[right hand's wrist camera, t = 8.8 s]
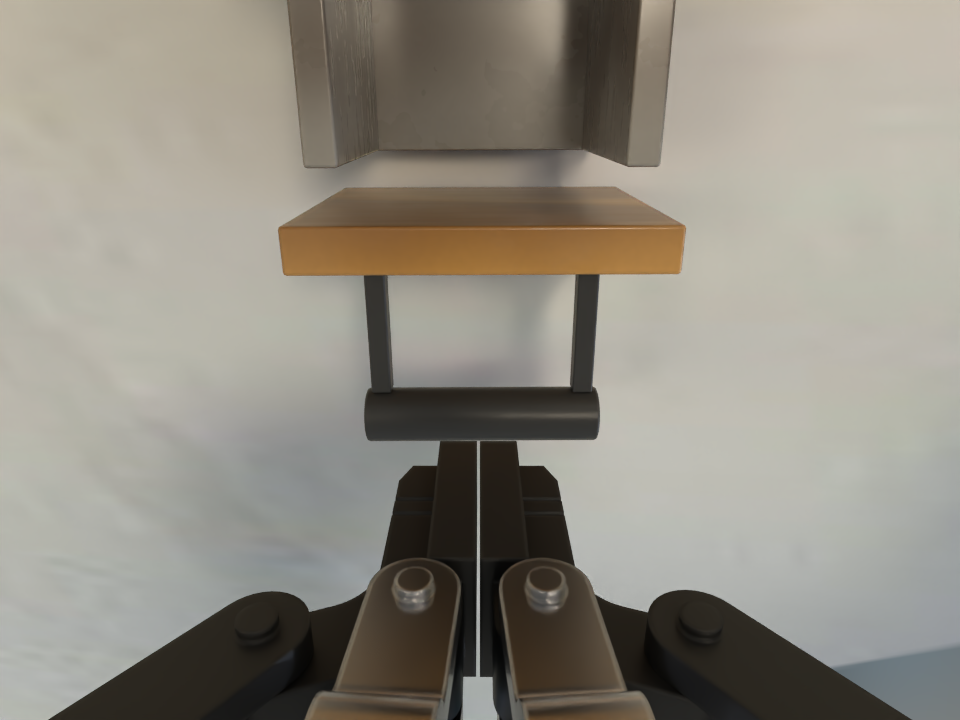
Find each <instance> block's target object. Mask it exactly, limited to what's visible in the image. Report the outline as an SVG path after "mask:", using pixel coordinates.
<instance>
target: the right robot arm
mask: <svg viewBox="0 0 960 720" xmlns="http://www.w3.org/2000/svg"><path fill="white" fill-rule="evenodd" d="M476 597H477V441H440V448H439V457H438V465H437V466H413V467H412V468H411V469H410V470H409V471H408V472H407V473H406V474H405V475H404V476H403V477H402V478H401V479H400V480H399V485H398V489H397V494H396V501H395V503H394V508H393V515H392V517H391V522H390V527H389V531H388V536H387V541H386V546H385V550H384V555H383V560H382V564H381V569H380V571H378V572H377V573H376V574H375V575H374V577H373V578H372V579H371V581H370V583H369V585H368V588H367V590H366V591H364V592H363V593H362V594H360V595H359V596H357V597H355V598H353V599H352V600H349V601H347V602H345V603H342V604H339V605H336V606H332V607H328V608H324V609H320V610H316V611H312V612H309V610H308V608H307V606H306V605H305V603H304V602H303V601H302V600H301V599H299V598H298V597H296V596H294V595H291V594H288V593H284V592H273V591H271V592H261V593H256V594H252V595H249V596H246V597H244V598H241V599H239V600H237V601H235V602H233V603H231V604H230V605H228V606H226V607H225V608H223V609H222V610H220V611H219V612H217V613H215V614H214V615H212V616H211V617H209V618H208V619H206V620H204V621H203V622H201V623H200V624H198V625H197V626H195V627H193V628H192V629H190V630H189V631H187V632H185V633H184V634H182V635H181V636H179V637H178V638H176V639H174V640H173V641H171V642H170V643H168V644H167V645H165V646H163V647H162V648H160V649H159V650H157V651H156V652H154V653H152V654H151V655H149V656H148V657H146V658H145V659H143V660H141V661H140V662H138V663H137V664H135V665H134V666H132V667H130V668H129V669H127V670H126V671H124V672H123V673H121V674H119V675H118V676H116V677H115V678H113V679H112V680H110V681H108V682H107V683H105V684H104V685H102V686H101V687H99V688H97V689H96V690H94V691H93V692H91V693H89V694H88V695H86V696H85V697H83V698H82V699H80V700H78V701H77V702H75V703H74V704H72V705H71V706H69V707H67V708H66V709H64V710H63V711H61V712H60V713H58V714H56V715H55V716H53V717H52V718H50V719H49V720H463V677H476ZM480 677H493V701H494V706H495V709H496V711H497V720H911V719H910V718H908V717H907V716H905V715H904V714H902V713H900V712H899V711H897V710H896V709H894V708H892V707H891V706H889V705H888V704H886V703H885V702H883V701H881V700H880V699H878V698H877V697H875V696H874V695H872V694H870V693H869V692H867V691H866V690H864V689H863V688H861V687H859V686H858V685H856V684H855V683H853V682H852V681H850V680H848V679H847V678H845V677H844V676H842V675H841V674H839V673H837V672H836V671H834V670H833V669H831V668H830V667H828V666H826V665H825V664H823V663H822V662H820V661H819V660H817V659H815V658H814V657H812V656H811V655H809V654H808V653H806V652H804V651H803V650H801V649H800V648H798V647H797V646H795V645H793V644H792V643H790V642H789V641H787V640H786V639H784V638H782V637H781V636H779V635H778V634H776V633H774V632H773V631H771V630H770V629H768V628H767V627H765V626H763V625H762V624H760V623H759V622H757V621H756V620H754V619H752V618H751V617H749V616H748V615H746V614H745V613H743V612H741V611H740V610H738V609H737V608H735V607H734V606H732V605H730V604H729V603H727V602H725V601H724V600H722V599H720V598H718V597H715V596H713V595H710V594H707V593H704V592H699V591H692V590H677V591H671V592H668V593H665V594H663V595H661V596H659V597H658V598H657V599H656V600H654V601H653V603H652V604H651V606H650V608H649V611H648V613H647V612H643V611H639V610H635V609H631V608H627V607H623V606H619V605H616V604H613V603H610V602H608V601H606V600H604V599H602V598H600V597H598V596H597V595H595V594H594V591H593V588H592V585H591V583H590V581H589V579H588V578H587V577H586V575H585V574H584V573H583V572H582V571H580V570H579V569H578V568H576V567H575V565H574V560H573V555H572V550H571V545H570V540H569V535H568V530H567V526H566V521H565V516H564V511H563V506H562V501H561V496H560V491H559V486H558V482H557V480H556V479H555V478H554V477H553V476H552V475H551V473H550V472H549V471H548V470H547V469H546V468H545V467H544V466H519V460H518V451H517V442H516V441H480Z"/></svg>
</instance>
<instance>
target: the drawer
mask: <svg viewBox="0 0 960 720" xmlns="http://www.w3.org/2000/svg"><path fill="white" fill-rule="evenodd" d="M675 3H676V0H287V4H288V14H289V24H290V34H291V44H292V54H293V64H294V74H295V85H296V95H297V105H298V115H299V125H300V135H301V145H302V155H303V165H304V167H306V168H336V167H339V166H341V165H343V164H346V163H348V162H351V161H353V160H356V159H358V158H361V157H363V156H365V155H368V154H370V153H373V152H375V151H385V150H585V151H588V152H591V153H593V154H596V155H598V156H601V157H604V158H606V159H609V160H612V161H614V162H617V163H620V164H622V165H625V166H628V167H658V166H659V165H660V161H661V150H662V140H663V129H664V119H665V108H666V98H667V87H668V77H669V66H670V56H671V45H672V35H673V24H674V14H675ZM685 232H686V227H685V225H683V224H681V223H679V222H678V221H676V220H674V219H672V218H670V217H669V216H667V215H665V214H663V213H661V212H660V211H658V210H656V209H654V208H652V207H651V206H649V205H647V204H645V203H643V202H642V201H640V200H638V199H636V198H634V197H633V196H631V195H629V194H627V193H625V192H624V191H622V190H620V189H618V188H616V187H446V188H345V189H343V190H341V191H339V192H338V193H336V194H334V195H333V196H331V197H329V198H328V199H326V200H324V201H323V202H321V203H319V204H318V205H316V206H314V207H312V208H311V209H309V210H307V211H306V212H304V213H302V214H301V215H299V216H297V217H296V218H294V219H292V220H291V221H289V222H287V223H285V224H284V225H282V226H280V227H279V229H278V234H279V242H280V251H281V259H282V268H283V273H284V275H286V276H347V275H364V286H365V300H366V314H367V328H368V342H369V356H370V370H371V384H372V388H369V389H368V391H367V394H366V398H365V409H364V423H365V432H366V436H367V439H368V440H370V441H460V440H594V439H596V438H597V435H598V432H599V424H600V407H599V398H598V394H597V391H596V388H594V387H592V382H593V367H594V351H595V336H596V321H597V306H598V291H599V276H600V274H679V273H680V272H681V268H682V259H683V250H684V241H685ZM387 275H576V280H575V299H574V318H573V337H572V357H571V376H570V386H571V387H410V388H393V368H392V350H391V333H390V316H389V298H388V281H387Z"/></svg>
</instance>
